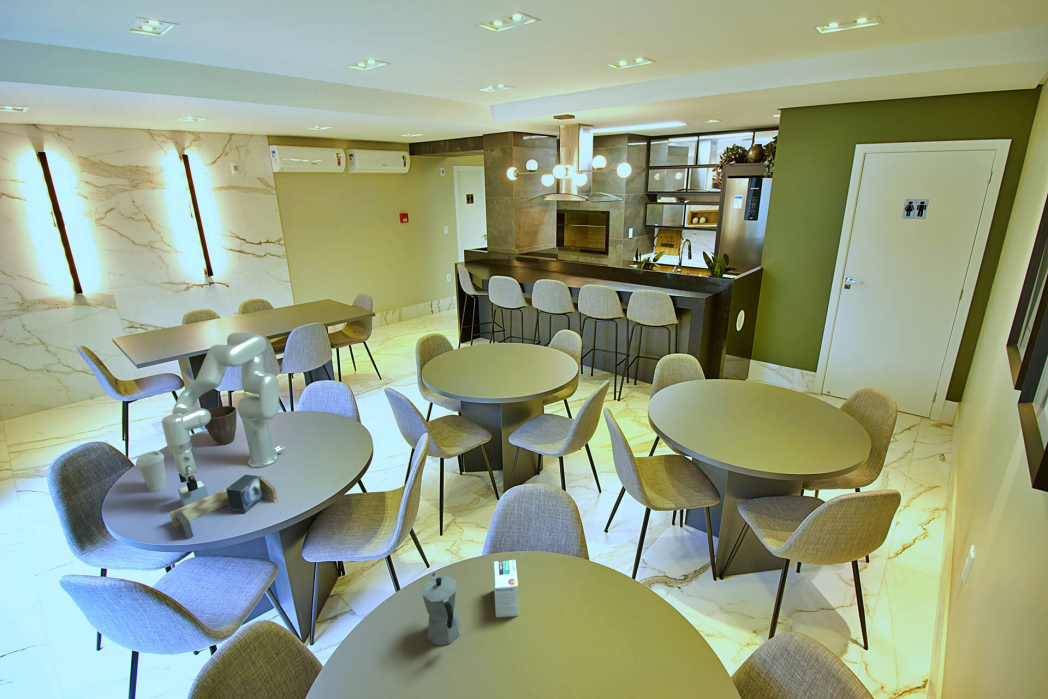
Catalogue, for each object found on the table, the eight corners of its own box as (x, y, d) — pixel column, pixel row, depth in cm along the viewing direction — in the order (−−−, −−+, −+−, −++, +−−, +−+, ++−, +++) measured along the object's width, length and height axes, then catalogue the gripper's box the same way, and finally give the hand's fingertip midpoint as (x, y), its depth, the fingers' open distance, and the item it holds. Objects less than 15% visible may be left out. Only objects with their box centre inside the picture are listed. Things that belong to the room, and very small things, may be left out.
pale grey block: (205, 496, 203) (200, 480, 200) (209, 501, 199) (205, 485, 197) (182, 505, 197) (177, 488, 195) (186, 510, 194) (182, 494, 191)
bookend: (185, 524, 185) (181, 510, 183) (193, 535, 179) (189, 522, 177) (178, 526, 184) (174, 513, 182) (187, 538, 177) (183, 525, 175)
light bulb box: (494, 589, 152) (492, 560, 148) (516, 587, 152) (515, 558, 149) (495, 618, 141) (493, 588, 138) (519, 616, 142) (518, 585, 139)
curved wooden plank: (263, 487, 207) (260, 475, 205) (277, 501, 198) (275, 487, 196) (173, 525, 185) (169, 512, 183) (185, 542, 176) (181, 528, 174)
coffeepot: (419, 621, 141) (413, 569, 136) (451, 608, 145) (446, 557, 140) (437, 664, 128) (432, 609, 123) (471, 648, 132) (467, 594, 127)
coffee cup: (177, 483, 212) (168, 451, 207) (155, 495, 204) (145, 463, 199) (161, 479, 215) (152, 448, 210) (138, 491, 207) (128, 459, 202)
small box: (245, 514, 190) (239, 490, 187) (230, 512, 192) (224, 489, 188) (264, 498, 200) (259, 475, 197) (249, 496, 201) (244, 473, 198)
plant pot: (210, 438, 250) (202, 409, 245) (243, 432, 256) (237, 403, 251) (206, 451, 237) (198, 421, 232) (241, 444, 243) (234, 414, 238)
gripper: (198, 449, 187) (207, 489, 192) (184, 436, 198) (193, 474, 203) (175, 457, 182) (184, 498, 187) (162, 442, 193) (171, 481, 198)
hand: (189, 485), depth 195 cm, fingers open, 9 cm apart
